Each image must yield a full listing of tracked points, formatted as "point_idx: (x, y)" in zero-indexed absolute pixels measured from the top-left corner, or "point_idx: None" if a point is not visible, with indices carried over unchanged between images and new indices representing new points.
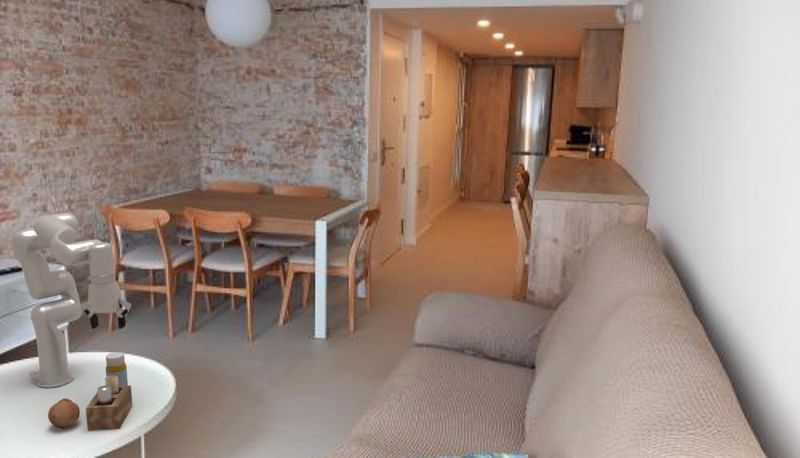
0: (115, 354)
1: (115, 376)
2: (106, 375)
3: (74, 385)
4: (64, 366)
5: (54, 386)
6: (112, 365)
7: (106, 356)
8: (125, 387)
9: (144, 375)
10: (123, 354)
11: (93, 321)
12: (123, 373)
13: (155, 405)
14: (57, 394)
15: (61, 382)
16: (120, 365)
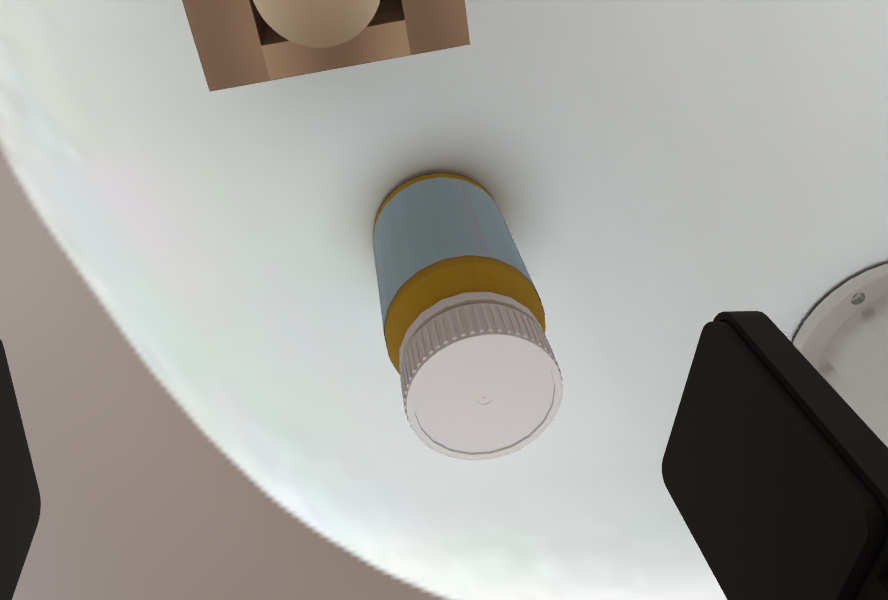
0: (491, 419)
1: (286, 14)
2: (519, 259)
3: (755, 306)
4: (876, 399)
5: (868, 272)
6: (469, 296)
7: (553, 370)
8: (235, 44)
9: (385, 456)
10: (413, 423)
11: (801, 448)
12: (388, 289)
13: (58, 66)
14: (823, 187)
15: (840, 309)
16: (411, 322)
